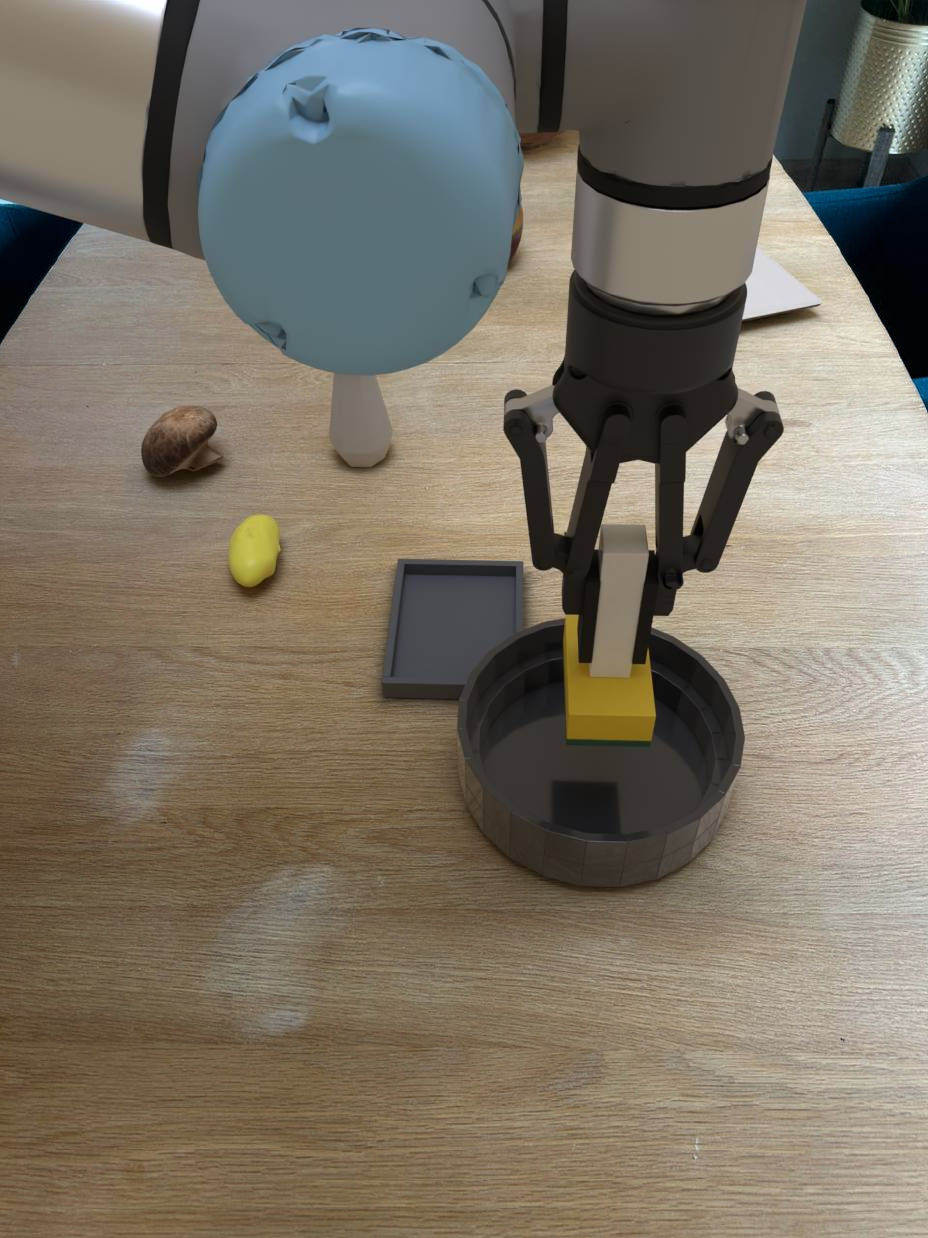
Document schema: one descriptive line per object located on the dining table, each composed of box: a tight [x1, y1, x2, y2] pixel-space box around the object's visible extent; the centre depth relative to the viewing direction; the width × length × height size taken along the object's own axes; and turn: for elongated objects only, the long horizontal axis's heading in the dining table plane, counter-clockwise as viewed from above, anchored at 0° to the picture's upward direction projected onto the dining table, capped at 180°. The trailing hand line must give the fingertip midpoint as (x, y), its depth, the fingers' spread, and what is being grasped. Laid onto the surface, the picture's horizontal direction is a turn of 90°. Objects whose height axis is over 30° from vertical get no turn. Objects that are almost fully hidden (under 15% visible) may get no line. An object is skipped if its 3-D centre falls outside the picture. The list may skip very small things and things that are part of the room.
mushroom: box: [140, 405, 224, 478], centre depth 91 cm, size 8×8×6 cm
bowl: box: [456, 617, 746, 888], centre depth 66 cm, size 18×18×6 cm
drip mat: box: [381, 558, 524, 700], centre depth 77 cm, size 13×10×2 cm
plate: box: [742, 246, 824, 322], centre depth 113 cm, size 19×19×2 cm
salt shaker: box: [328, 373, 394, 468], centre depth 89 cm, size 6×6×13 cm
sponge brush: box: [563, 523, 656, 747], centre depth 58 cm, size 8×5×13 cm, turn 177°
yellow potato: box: [227, 513, 282, 588], centre depth 82 cm, size 4×8×4 cm, turn 175°
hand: (610, 646), depth 59 cm, fingers closed on sponge brush, 2 cm apart
